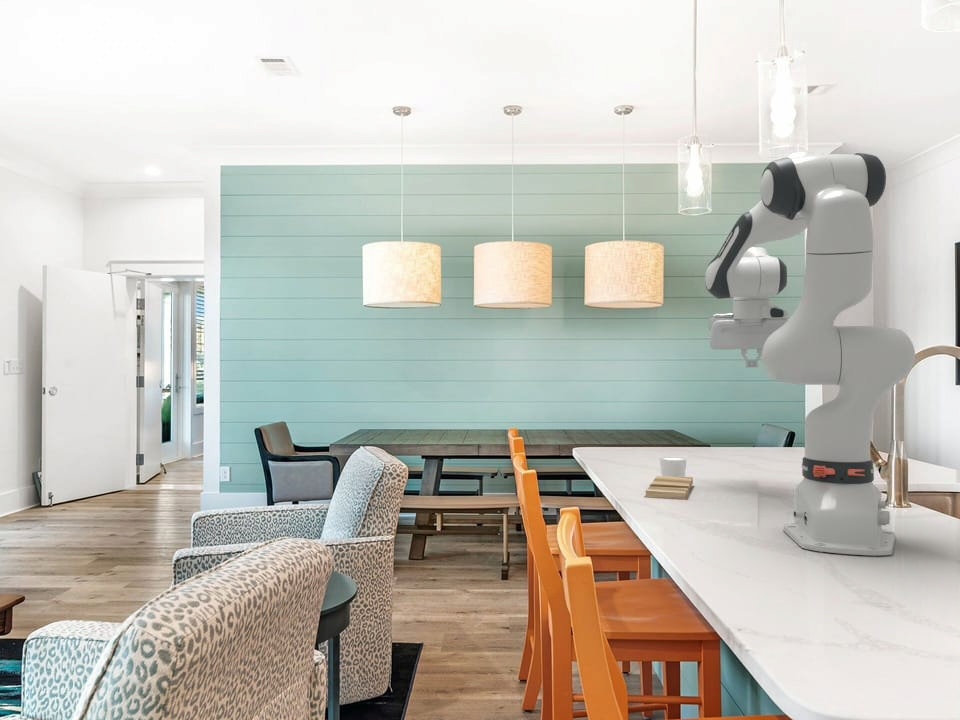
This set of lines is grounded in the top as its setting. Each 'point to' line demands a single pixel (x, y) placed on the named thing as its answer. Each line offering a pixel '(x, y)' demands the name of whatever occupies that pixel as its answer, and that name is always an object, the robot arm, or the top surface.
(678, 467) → the white ramekin cup
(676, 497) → the laid strip
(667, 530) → the top surface
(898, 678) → the top surface
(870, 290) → the robot arm
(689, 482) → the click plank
